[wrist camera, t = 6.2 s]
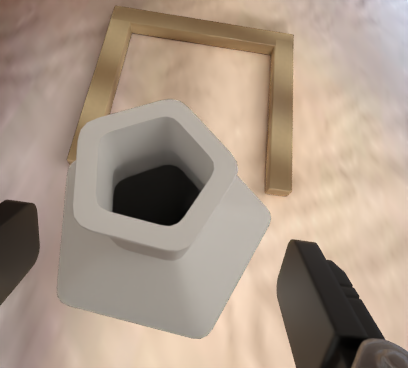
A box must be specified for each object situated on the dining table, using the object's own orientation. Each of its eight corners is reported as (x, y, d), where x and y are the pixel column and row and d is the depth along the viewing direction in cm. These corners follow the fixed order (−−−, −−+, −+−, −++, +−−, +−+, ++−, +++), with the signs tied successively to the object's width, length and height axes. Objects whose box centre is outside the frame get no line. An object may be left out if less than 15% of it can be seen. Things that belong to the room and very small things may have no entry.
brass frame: (287, 197, 20) (292, 191, 19) (71, 166, 20) (66, 159, 19) (289, 44, 25) (293, 34, 24) (117, 16, 25) (114, 4, 24)
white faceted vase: (157, 219, 19) (113, -13, 5) (219, 258, 18) (356, 119, 5) (110, 286, 17) (-144, 214, 3) (176, 331, 17) (186, 459, 3)
